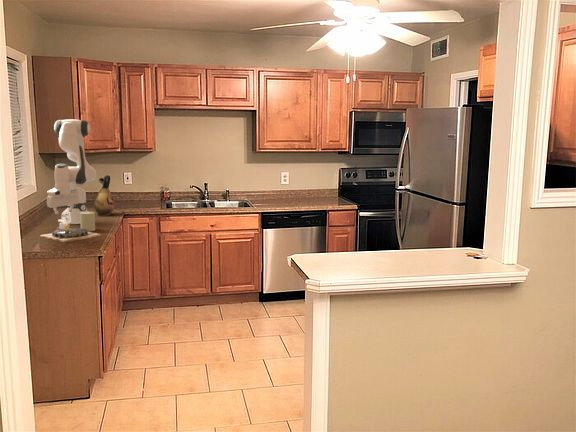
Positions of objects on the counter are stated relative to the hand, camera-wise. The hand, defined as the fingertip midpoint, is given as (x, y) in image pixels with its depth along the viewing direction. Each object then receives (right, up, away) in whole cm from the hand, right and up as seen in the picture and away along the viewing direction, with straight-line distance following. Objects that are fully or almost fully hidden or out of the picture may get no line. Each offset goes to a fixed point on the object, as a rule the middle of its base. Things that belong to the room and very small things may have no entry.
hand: (63, 212), depth 333 cm
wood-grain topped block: (0, -11, +1) cm, 11 cm away
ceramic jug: (0, -1, +77) cm, 77 cm away
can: (+8, -11, +19) cm, 24 cm away
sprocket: (+5, -13, -1) cm, 14 cm away
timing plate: (+5, -14, -1) cm, 15 cm away
